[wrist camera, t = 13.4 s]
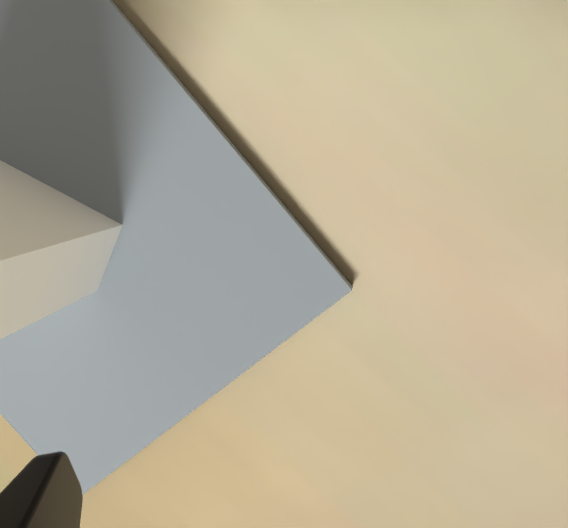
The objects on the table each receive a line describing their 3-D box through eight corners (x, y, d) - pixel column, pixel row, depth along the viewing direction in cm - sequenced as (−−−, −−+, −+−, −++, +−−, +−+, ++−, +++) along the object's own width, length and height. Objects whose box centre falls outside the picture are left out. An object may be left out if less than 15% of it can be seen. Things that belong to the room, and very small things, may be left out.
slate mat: (352, 286, 18) (352, 290, 18) (83, 491, 23) (77, 498, 22) (-11, -146, 17) (-22, -154, 17) (-219, 158, 22) (-232, 158, 21)
